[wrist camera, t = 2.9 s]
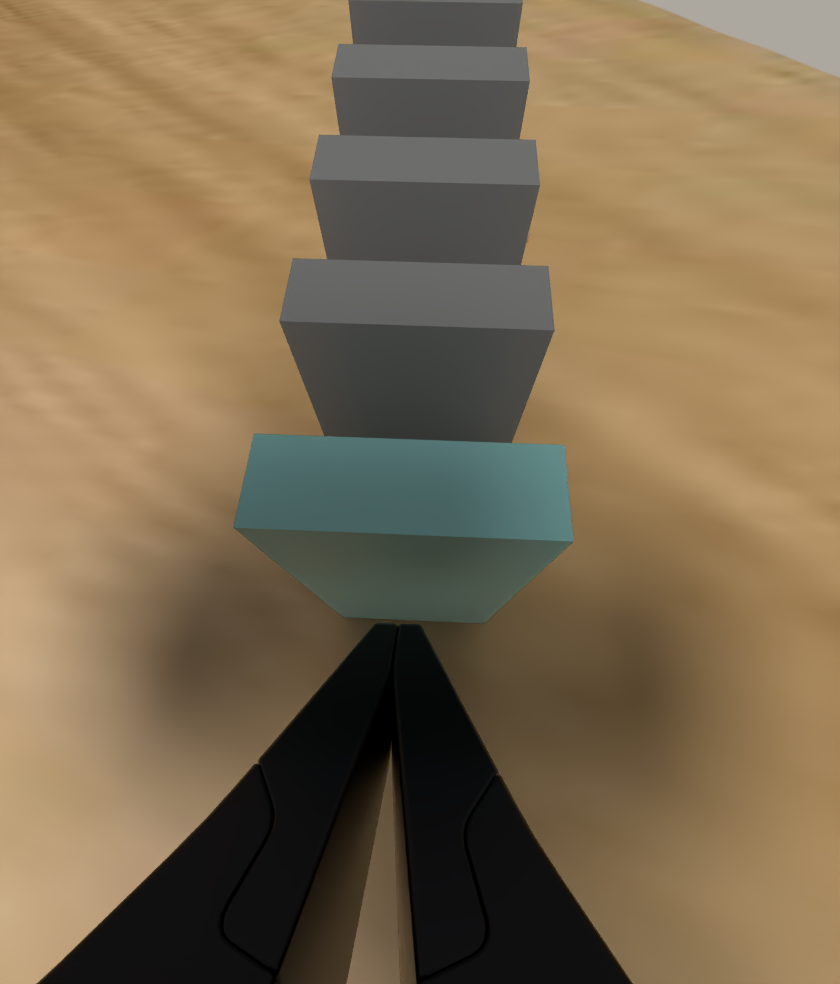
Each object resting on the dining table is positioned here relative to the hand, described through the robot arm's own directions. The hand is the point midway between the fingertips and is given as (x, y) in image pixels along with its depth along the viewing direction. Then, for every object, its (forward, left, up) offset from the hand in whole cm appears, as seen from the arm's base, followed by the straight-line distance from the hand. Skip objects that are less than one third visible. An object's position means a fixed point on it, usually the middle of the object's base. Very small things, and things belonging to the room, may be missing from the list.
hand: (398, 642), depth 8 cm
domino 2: (+6, 0, -7) cm, 10 cm away
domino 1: (+2, 0, -7) cm, 8 cm away
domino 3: (+10, 0, -7) cm, 13 cm away
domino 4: (+14, 0, -7) cm, 16 cm away
